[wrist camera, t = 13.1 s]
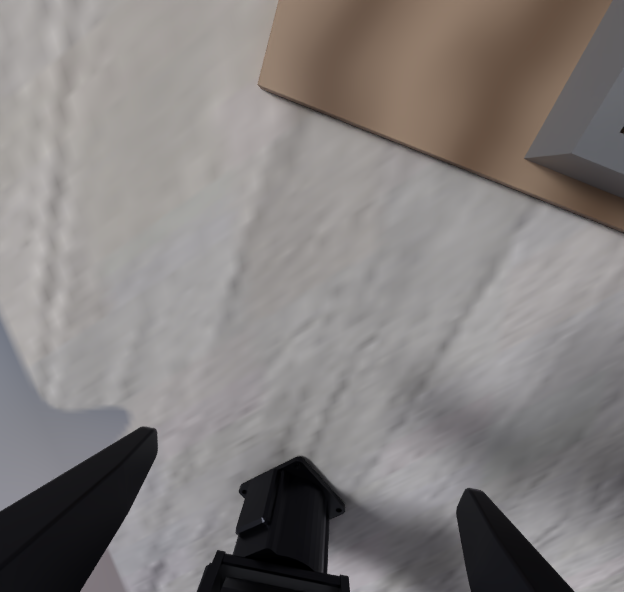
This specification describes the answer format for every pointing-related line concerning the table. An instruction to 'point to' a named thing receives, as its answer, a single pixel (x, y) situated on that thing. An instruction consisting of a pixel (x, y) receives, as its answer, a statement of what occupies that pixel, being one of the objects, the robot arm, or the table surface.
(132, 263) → the table surface
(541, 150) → the socket collar
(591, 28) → the board
